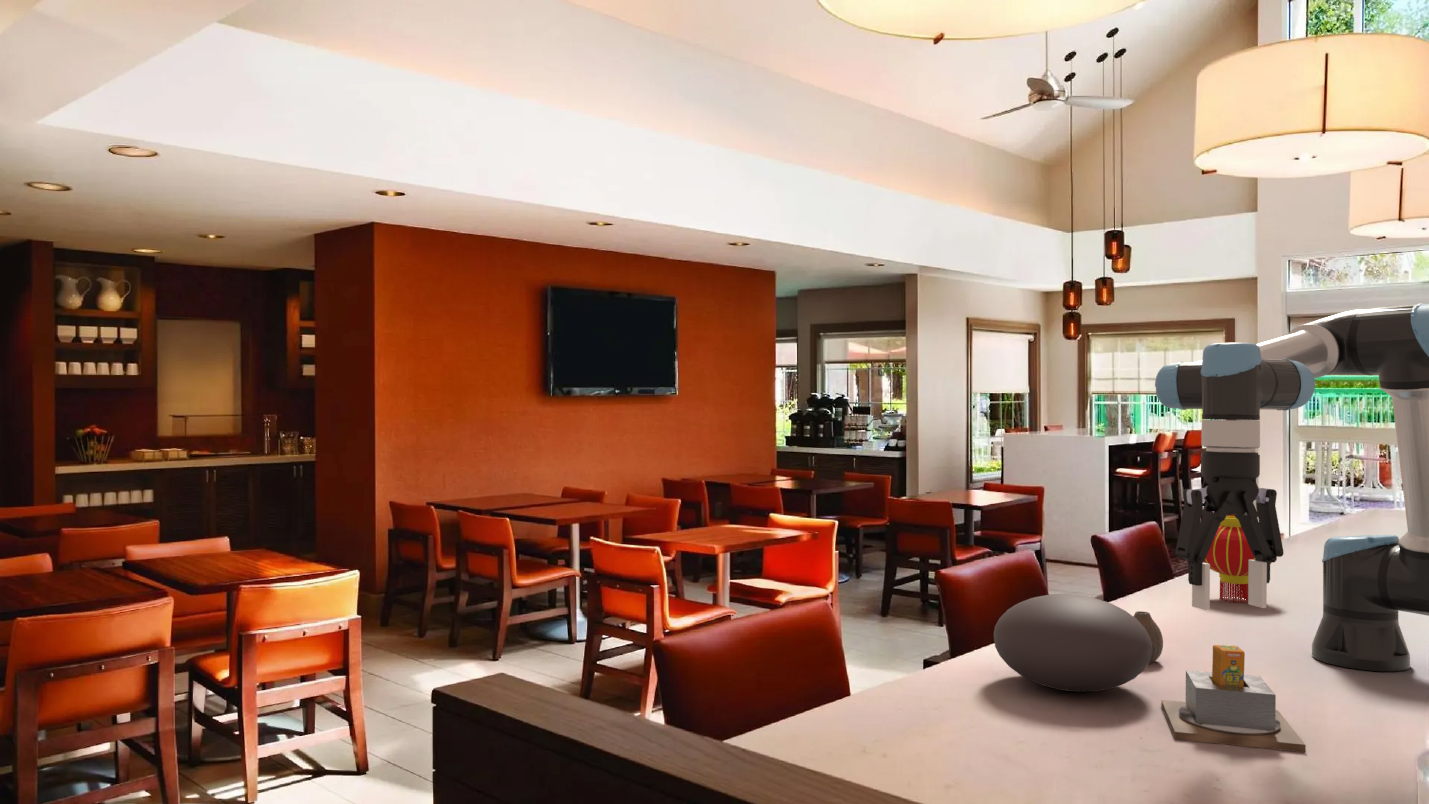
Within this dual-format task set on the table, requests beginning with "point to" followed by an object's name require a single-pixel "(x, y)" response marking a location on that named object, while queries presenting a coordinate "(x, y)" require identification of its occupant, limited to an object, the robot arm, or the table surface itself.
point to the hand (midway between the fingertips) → (1229, 606)
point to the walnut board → (1186, 731)
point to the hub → (1230, 705)
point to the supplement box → (1228, 666)
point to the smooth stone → (1072, 642)
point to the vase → (1151, 633)
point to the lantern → (1231, 559)
